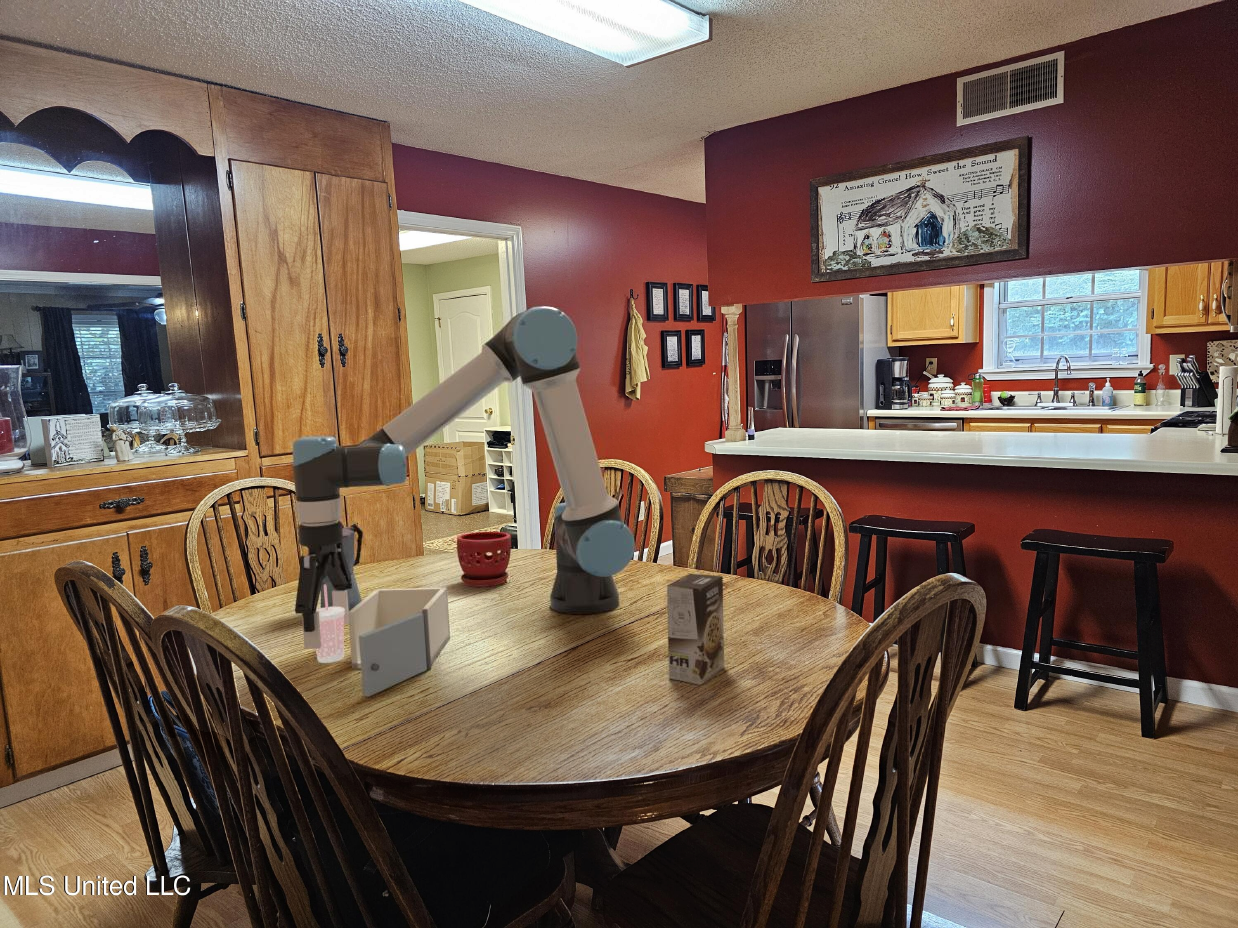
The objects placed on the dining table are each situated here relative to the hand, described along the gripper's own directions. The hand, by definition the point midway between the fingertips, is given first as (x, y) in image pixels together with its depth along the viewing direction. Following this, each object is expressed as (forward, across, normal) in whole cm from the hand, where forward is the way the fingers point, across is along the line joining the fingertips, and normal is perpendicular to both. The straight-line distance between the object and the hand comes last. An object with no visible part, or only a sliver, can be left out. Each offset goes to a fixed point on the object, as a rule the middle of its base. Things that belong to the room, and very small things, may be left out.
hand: (328, 635), depth 148 cm
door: (+4, +13, +17) cm, 21 cm away
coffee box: (+4, +11, +67) cm, 68 cm away
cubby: (+4, -2, +13) cm, 14 cm away
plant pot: (+4, -51, +19) cm, 55 cm away
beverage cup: (+5, 0, 0) cm, 5 cm away
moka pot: (+5, -32, -10) cm, 34 cm away
